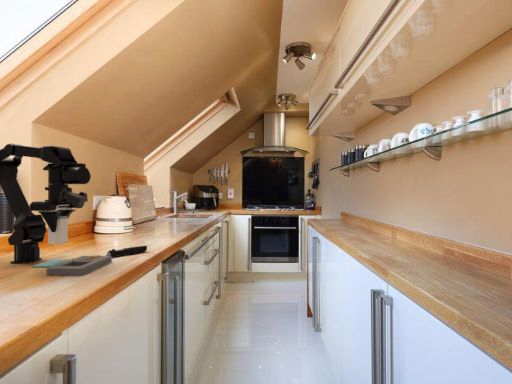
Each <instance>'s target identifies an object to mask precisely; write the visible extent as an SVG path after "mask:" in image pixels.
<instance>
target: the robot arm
mask: <svg viewBox="0 0 512 384" xmlns="http://www.w3.org/2000/svg"><path fill="white" fill-rule="evenodd" d="M11 156H14V157H13V158H10V157H11ZM23 157H26V158H27V157H28V158H35V159H39V160H41V161H44V162H46V163H48V164H46V165H45V166H44V167H43V168H42V171H46V172H47V171H48V172H47V173H48V175H47V176H48V177H47V186H45V187H44V191H47V199H44V201H42V200H41V201H32V202H30V203H28V200H27V198H26V196H25V194H24V191H23V190H22V188H21V186H20V183H19V181H18V179H17V176H18V172H19V169H18V168H19V167H20V166H21V164H22V162H23V161H22V159H23ZM90 180H91V173H90V170H89V169H88V167H87V164H86V163H84V162H83V163H80V162H79V163H78V161H77V160H76V158H75V157H74V154H73V153H72V150H71V149H70V148H69V147H63V146H57V145H44V146H40V147H38V146H29V145H22V144H17V143H7V144H6V145H5V146H4V147H3V148H1V149H0V187H1V190H2V192H3V194H4V196H5V198H6V201H7V203H8V204H9V205H8V206H9V208H10V209H11V212H12V214H13V216H14V218H15V219H14V222H13V232H12V234H10V236H9V237H8V238H7V241H8V245H9V246H13V255H14V256H13V260H11V261H10V264H31V263H34V262H38V261H40V260H42V259H43V258H42V257H41V256H40V255H41V252H40V251H41V250H40V249H41V248H40V247H39V244H40V243H43V242H44V239H45V236H46V232H47V227H48V226H49V228H50V230H51V232H56V227H57V218H58V216H68V219H70V216H71V215H72V213H74V212H76V211H77V209H83V208H84V206H85V203H87V202H88V201H89V200H88V198H89V197H88V193H87V192H84V191H80V192H78V193H76V192H73V188H72V187H69V185H87V184H89V182H90ZM34 212H38V213H39V214H35V213H34ZM46 225H47V226H46Z"/></svg>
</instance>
